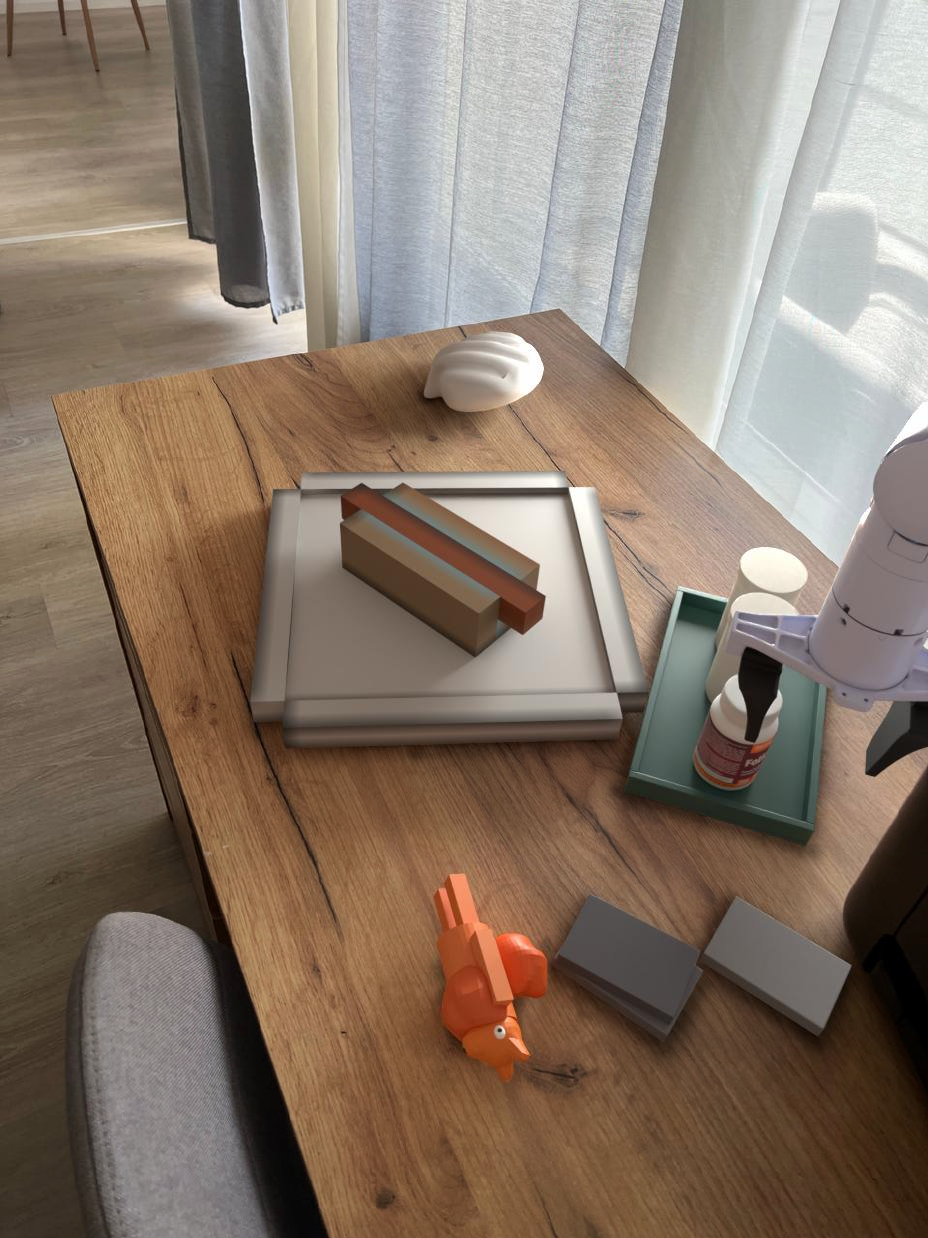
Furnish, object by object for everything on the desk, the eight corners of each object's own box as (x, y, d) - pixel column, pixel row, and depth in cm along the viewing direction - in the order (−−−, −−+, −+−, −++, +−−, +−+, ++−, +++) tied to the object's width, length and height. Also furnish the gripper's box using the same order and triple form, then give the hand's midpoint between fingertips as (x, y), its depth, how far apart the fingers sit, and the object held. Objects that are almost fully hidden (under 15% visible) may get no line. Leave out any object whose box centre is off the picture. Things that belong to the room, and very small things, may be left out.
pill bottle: (743, 803, 69) (776, 733, 63) (682, 773, 71) (708, 702, 65) (764, 758, 72) (798, 687, 66) (705, 730, 74) (733, 658, 68)
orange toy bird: (423, 865, 59) (478, 1061, 51) (528, 860, 62) (595, 1043, 54) (398, 908, 62) (445, 1099, 54) (499, 901, 65) (558, 1080, 57)
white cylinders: (765, 726, 75) (799, 651, 68) (699, 707, 76) (726, 631, 69) (778, 633, 82) (810, 556, 75) (718, 617, 83) (744, 540, 76)
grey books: (845, 973, 61) (858, 957, 60) (778, 1126, 55) (790, 1112, 53) (631, 842, 67) (637, 824, 66) (546, 966, 61) (551, 949, 59)
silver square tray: (586, 496, 94) (597, 432, 89) (648, 743, 73) (667, 679, 68) (277, 498, 92) (270, 433, 86) (252, 754, 71) (239, 689, 66)
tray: (805, 846, 68) (814, 831, 66) (623, 792, 70) (628, 776, 69) (825, 641, 82) (832, 625, 81) (673, 601, 84) (677, 585, 83)
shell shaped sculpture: (563, 403, 105) (571, 350, 101) (479, 445, 99) (483, 391, 95) (484, 353, 112) (488, 302, 107) (400, 389, 106) (400, 336, 101)
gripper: (744, 613, 51) (690, 762, 61) (1030, 687, 48) (926, 830, 58) (759, 532, 56) (706, 683, 66) (1021, 596, 53) (926, 743, 63)
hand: (810, 747), depth 62 cm, fingers open, 7 cm apart
